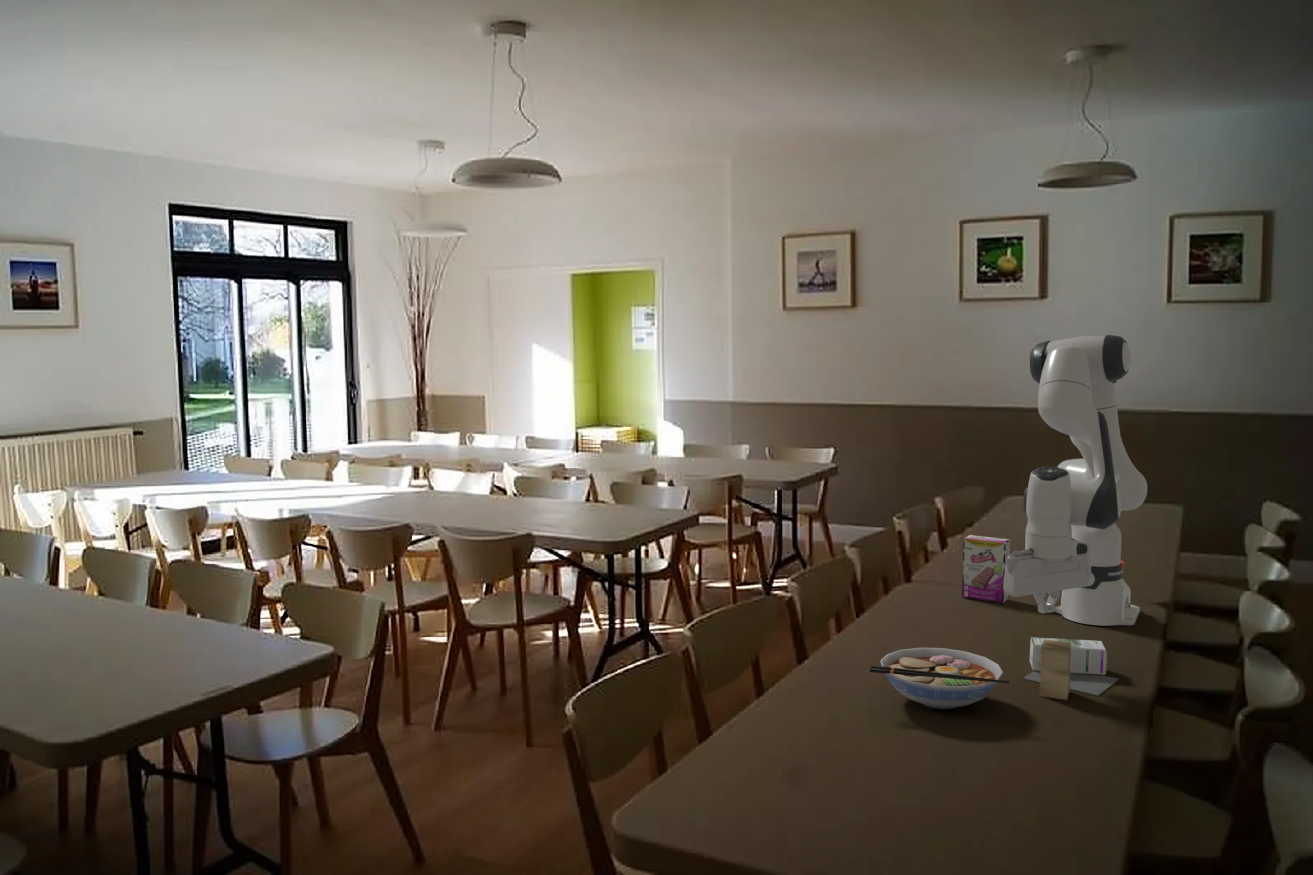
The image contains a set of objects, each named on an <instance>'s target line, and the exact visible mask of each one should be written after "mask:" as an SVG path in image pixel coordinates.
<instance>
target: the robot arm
mask: <svg viewBox="0 0 1313 875" xmlns="http://www.w3.org/2000/svg"><path fill="white" fill-rule="evenodd" d="M1029 353H1030V354H1029V359H1028V368H1029V371H1030V376H1031V378H1032V379H1033V380H1034V381H1035V382H1036V383H1037V384H1038V385H1039V386H1038V393H1037V394H1038V395H1037V408H1038V409H1037V410H1038V414H1039V416H1040V417H1041V419H1042V420H1043V421H1044V423H1046V424H1047V425H1048V426H1049V427H1050V428H1051V429H1054V430H1055V431H1057V432H1059V433H1061V434H1065V435H1067V436H1069V438H1070V441H1071V442H1072V444H1073V445H1074V446H1075V447H1076V448H1077V449H1078V451H1079V452H1080V454H1081V456H1082V457H1083V458H1072V459H1071V458H1070V459H1066V460H1063V461H1061V462H1060V463H1059V464H1058V465H1057V466H1042V467H1037V468H1035V469H1033V470H1032V471H1031V472H1030V475H1029V480H1028V486H1027V487H1026V488H1025V489H1024V492H1023V513H1024V514H1025V515H1026V516H1027V525H1026V528H1025V542H1024V543H1025V544H1024V545H1025V546H1024V547H1025V548H1024V549H1022V550H1014V551H1012V553H1010V556H1009V557H1008V558H1007V565H1006V568H1005V575H1004V583H1003V589H1004V591H1005V592H1006V594H1008V596H1011V597H1014V598H1019V597H1025V596H1032V595H1033V598H1034V600H1035V601H1036V603H1037V611H1038V612H1039V613H1040V614H1049V613H1053V612H1055V613H1057V614H1058V615H1059V614H1060V615H1062V617H1064V618H1065V619H1067V620H1069V621H1072V622H1074V623H1075V622H1076V623H1078V624H1084V625H1091V626H1103V627H1105V626H1134V625H1135V624H1136V622H1137V619H1138V617H1139V615H1140V612H1141V609H1140V608H1141V607H1140V606H1137V605H1134V604H1131V593H1132V592H1131V588H1130V587H1129V585H1128V584H1127V583H1126V581H1125V580H1124V579H1123V578H1124V569H1125V564H1126V563H1125V561H1124V560H1121V553H1122V532H1121V530H1120V528H1119V527H1118V526H1117V524H1116V523H1117V522H1118V521H1119V520H1120V517H1121V513H1122V511H1133V510H1136V509H1137V508H1139V507H1140V506H1141V505H1142V504H1143V503H1144V501H1145V500H1146V498H1147V495H1148V482H1147V480H1146V478H1145V476H1144V475H1143V473H1141V472H1140V471H1139V470H1138V469H1137V468H1136V466H1135V465H1134V464H1133V462H1132V461H1131V459H1130V457H1129V455H1128V453H1127V451H1126V448H1125V445H1124V443H1123V441H1122V440H1123V439H1122V437H1121V431H1120V430H1121V429H1120V423H1119V413H1118V405H1117V404H1118V403H1117V395H1116V388H1115V384H1116V383H1117V382H1118V380H1121V379H1123V378H1124V377H1125V376H1127V374H1128V372H1129V369H1130V366H1131V361H1132V354H1131V349H1130V347H1129V345H1128V342H1127V341H1126V340H1125V339H1124V338H1123V337H1122V336H1120V335H1115V334H1113V335H1112V334H1106V335H1083V336H1081V335H1080V336H1079V335H1078V336H1076V337H1070V338H1069V337H1068V338H1062V339H1058V340H1057V339H1056V340H1053V341H1051V340H1047V341H1042V342H1038V343H1037V344H1036V345H1035V346H1034V347H1033V348H1032V349H1031V350H1030V352H1029ZM1047 594H1049V595H1048V597H1047ZM1060 596H1061V598H1060ZM1046 598H1047V599H1046ZM1059 598H1060V605H1058V606H1056V604H1057V602H1058V600H1059ZM1045 599H1046V600H1045Z"/></svg>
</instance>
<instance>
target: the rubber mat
mask: <svg viewBox="0 0 1313 875" xmlns="http://www.w3.org/2000/svg"><path fill="white" fill-rule="evenodd" d="M1040 674H1041V671H1034V670H1032V671H1031V672H1030V673H1028V674H1027V675H1026V676H1024V677H1023V678H1022V679H1023V680H1026V681H1030V682H1036V683H1039V684H1040ZM1118 681H1120V680H1119V678H1117V677H1116V678H1115V677H1112V676H1111V677H1110V676H1109V675H1108V676H1106V675H1100V674H1083V673H1070V691H1075V692H1079V693H1082V694H1083V693H1084V694H1087V695H1091V696H1097V697H1099V696H1101V695H1103V693H1104V692H1106V691H1107V690H1108V689H1109V688H1111V687H1112V686H1113V685H1114V684H1116V683H1117V682H1118Z"/></svg>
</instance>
